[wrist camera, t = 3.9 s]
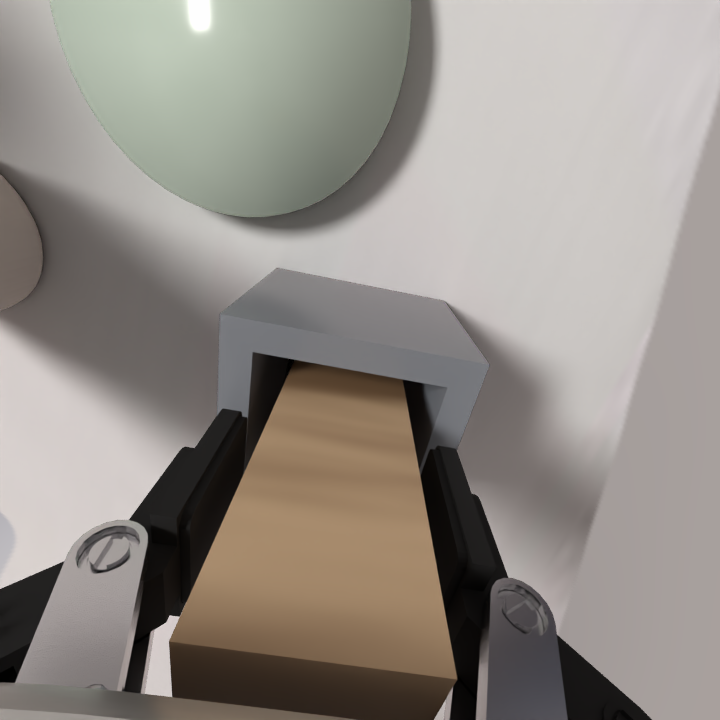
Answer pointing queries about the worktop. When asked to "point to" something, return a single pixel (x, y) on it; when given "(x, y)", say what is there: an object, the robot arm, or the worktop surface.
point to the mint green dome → (240, 91)
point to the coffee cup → (17, 248)
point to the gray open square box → (349, 350)
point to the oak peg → (323, 566)
